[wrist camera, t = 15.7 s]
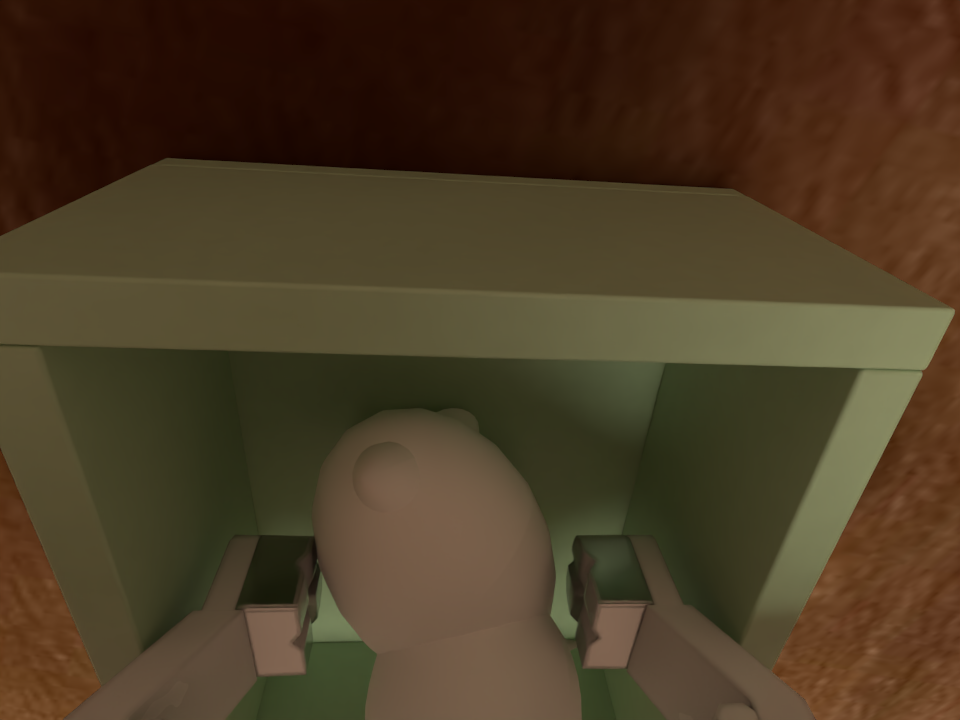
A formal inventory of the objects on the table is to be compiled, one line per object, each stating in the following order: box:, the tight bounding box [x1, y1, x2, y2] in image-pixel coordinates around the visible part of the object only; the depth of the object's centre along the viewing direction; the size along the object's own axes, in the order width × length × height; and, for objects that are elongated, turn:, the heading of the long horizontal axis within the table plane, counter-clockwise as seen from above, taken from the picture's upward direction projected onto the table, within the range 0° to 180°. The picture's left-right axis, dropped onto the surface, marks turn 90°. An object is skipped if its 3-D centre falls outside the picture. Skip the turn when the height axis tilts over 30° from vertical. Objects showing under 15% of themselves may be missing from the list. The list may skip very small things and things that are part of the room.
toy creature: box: [312, 408, 582, 720], centre depth 11 cm, size 5×8×6 cm, turn 16°
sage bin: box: [0, 158, 955, 720], centre depth 12 cm, size 14×11×6 cm
